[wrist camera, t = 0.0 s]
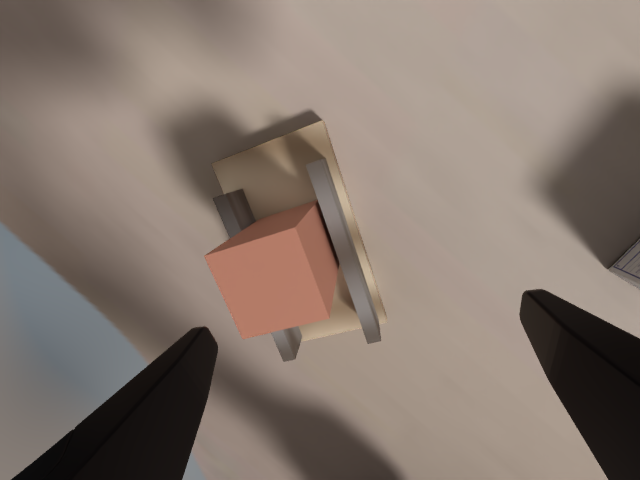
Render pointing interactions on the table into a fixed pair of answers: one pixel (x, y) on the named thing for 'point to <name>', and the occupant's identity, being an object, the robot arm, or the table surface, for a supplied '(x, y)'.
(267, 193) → the chute
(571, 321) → the robot arm
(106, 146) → the table surface
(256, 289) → the brick-red block
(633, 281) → the medicine box
